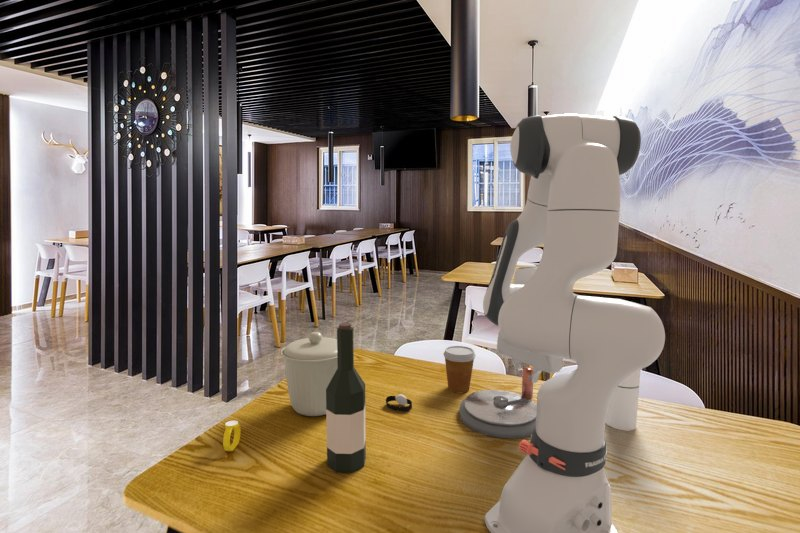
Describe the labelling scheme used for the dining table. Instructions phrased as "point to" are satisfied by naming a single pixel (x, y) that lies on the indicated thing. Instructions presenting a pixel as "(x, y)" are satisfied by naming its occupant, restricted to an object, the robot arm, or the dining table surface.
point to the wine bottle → (345, 409)
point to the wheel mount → (495, 426)
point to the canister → (310, 372)
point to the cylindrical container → (624, 404)
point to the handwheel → (504, 404)
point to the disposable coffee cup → (459, 367)
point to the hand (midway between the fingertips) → (526, 378)
